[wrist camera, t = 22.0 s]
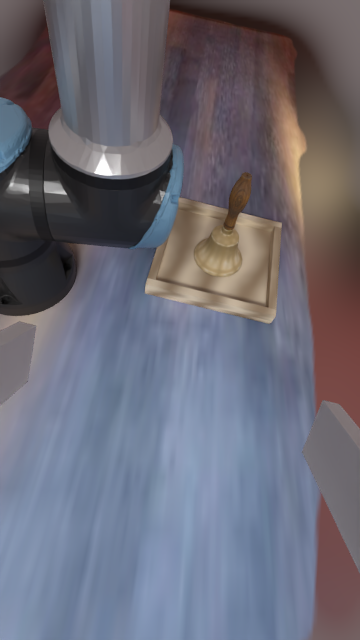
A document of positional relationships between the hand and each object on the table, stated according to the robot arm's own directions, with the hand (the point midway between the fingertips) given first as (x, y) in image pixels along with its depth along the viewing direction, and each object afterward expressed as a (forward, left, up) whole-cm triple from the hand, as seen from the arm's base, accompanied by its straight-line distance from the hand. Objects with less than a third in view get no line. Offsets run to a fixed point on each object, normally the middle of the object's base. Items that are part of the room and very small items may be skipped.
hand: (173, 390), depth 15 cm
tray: (-17, +30, -30) cm, 45 cm away
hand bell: (-17, +30, -29) cm, 45 cm away
